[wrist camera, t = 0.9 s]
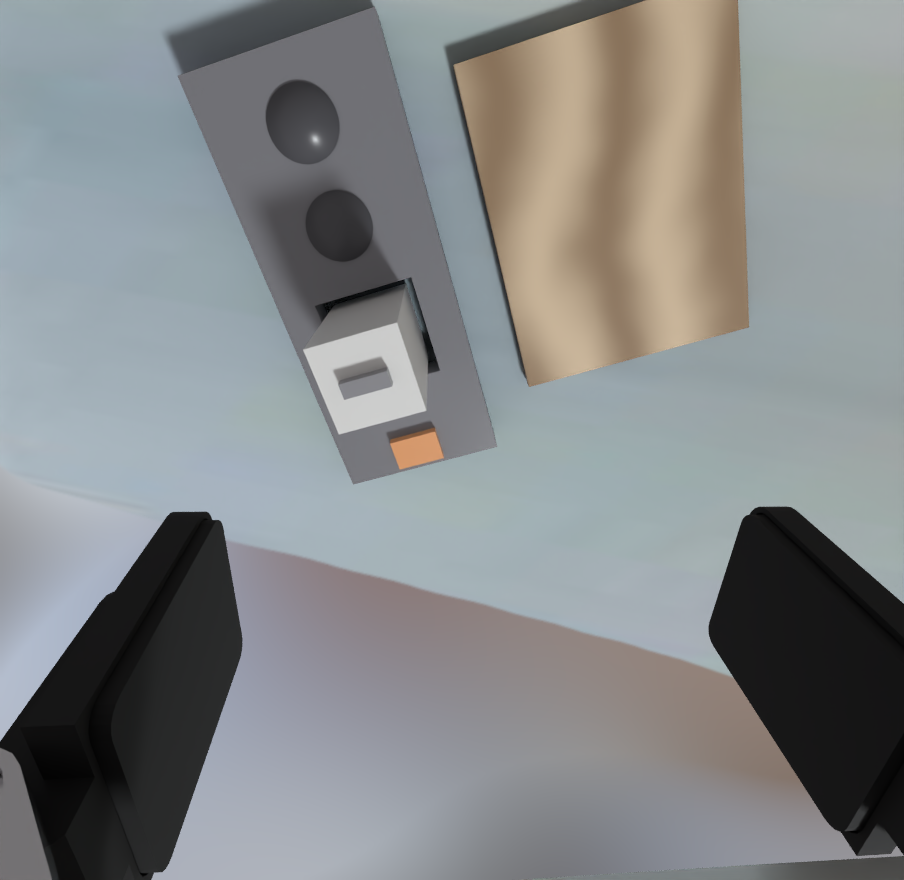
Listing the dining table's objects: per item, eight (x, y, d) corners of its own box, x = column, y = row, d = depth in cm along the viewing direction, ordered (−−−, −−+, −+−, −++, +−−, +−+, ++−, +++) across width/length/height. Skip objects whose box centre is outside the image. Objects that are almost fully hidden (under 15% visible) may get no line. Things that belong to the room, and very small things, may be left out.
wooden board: (728, -26, 27) (736, -31, 26) (742, 323, 35) (748, 327, 34) (453, 67, 28) (453, 64, 27) (527, 382, 36) (529, 386, 35)
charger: (406, 283, 33) (396, 326, 25) (428, 353, 35) (426, 415, 27) (334, 304, 34) (300, 353, 25) (360, 372, 36) (337, 440, 27)
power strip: (378, 16, 27) (373, 3, 25) (494, 433, 38) (498, 450, 35) (193, 81, 28) (172, 74, 26) (356, 469, 39) (352, 489, 36)
